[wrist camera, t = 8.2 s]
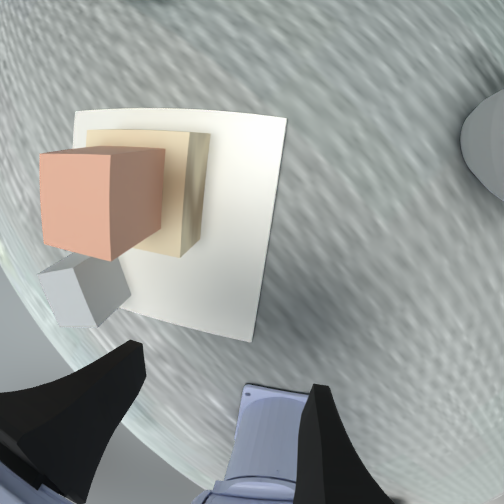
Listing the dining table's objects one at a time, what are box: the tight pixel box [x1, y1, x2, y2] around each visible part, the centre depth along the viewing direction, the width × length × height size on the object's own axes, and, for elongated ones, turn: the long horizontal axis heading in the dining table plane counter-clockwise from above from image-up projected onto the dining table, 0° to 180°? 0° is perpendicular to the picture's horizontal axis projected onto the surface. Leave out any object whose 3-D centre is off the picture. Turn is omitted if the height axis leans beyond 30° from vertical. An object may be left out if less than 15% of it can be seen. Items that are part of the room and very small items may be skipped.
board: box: [73, 108, 287, 342], centre depth 21 cm, size 16×16×1 cm
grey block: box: [37, 252, 131, 328], centre depth 21 cm, size 4×4×5 cm
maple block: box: [86, 129, 211, 258], centre depth 18 cm, size 7×7×4 cm
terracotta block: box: [40, 146, 165, 262], centre depth 14 cm, size 4×4×5 cm
